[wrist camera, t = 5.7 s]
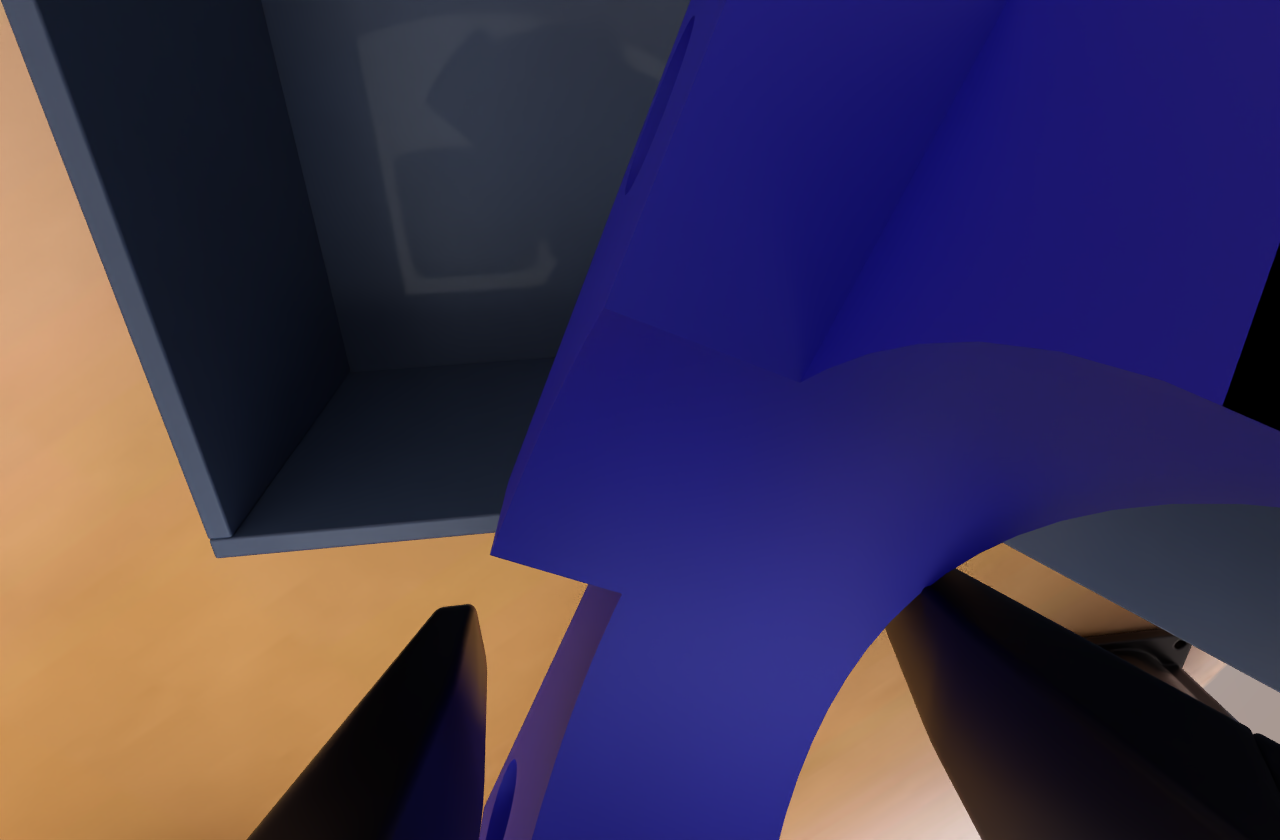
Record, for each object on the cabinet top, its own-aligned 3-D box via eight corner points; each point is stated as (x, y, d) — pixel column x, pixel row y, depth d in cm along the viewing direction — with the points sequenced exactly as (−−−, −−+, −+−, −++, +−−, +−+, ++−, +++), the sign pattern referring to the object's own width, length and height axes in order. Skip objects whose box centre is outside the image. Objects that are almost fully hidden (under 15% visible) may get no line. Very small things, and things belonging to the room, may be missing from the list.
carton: (849, -375, 13) (1184, -897, 6) (798, 347, 20) (932, 492, 13) (153, -385, 12) (-400, -1028, 5) (342, 380, 19) (214, 559, 12)
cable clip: (707, -46, 6) (1348, -912, 1) (1095, 151, 7) (2577, 331, 2) (393, 786, 11) (183, 1472, 5) (653, 843, 12) (694, 1478, 6)
